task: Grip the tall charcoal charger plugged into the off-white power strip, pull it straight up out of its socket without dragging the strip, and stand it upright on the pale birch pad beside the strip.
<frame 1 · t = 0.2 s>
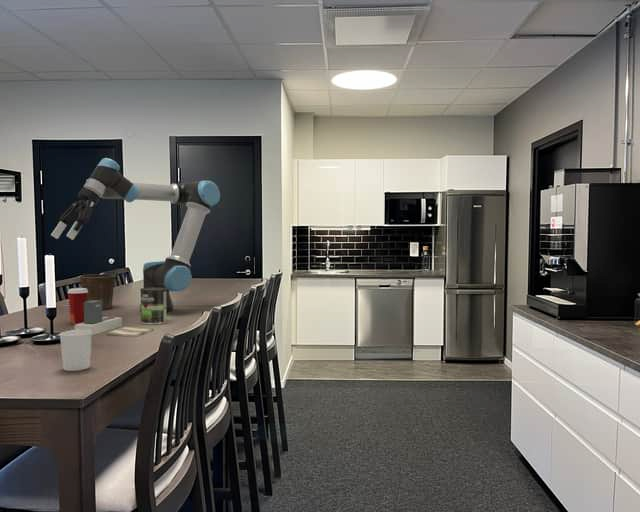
hand: (61, 237, 195), 35 cm above the table, tool tilted 35°, fingers open, 13 cm apart
coffee can: (154, 322, 212), on the table
birch pad: (130, 332, 191), on the table
charger: (93, 327, 191), point 2 cm above the table, touching power strip
white cup: (76, 368, 143), on the table
paper cup: (78, 323, 210), on the table
plant pot: (98, 309, 246), on the table
power strip: (99, 331, 195), on the table, touching charger
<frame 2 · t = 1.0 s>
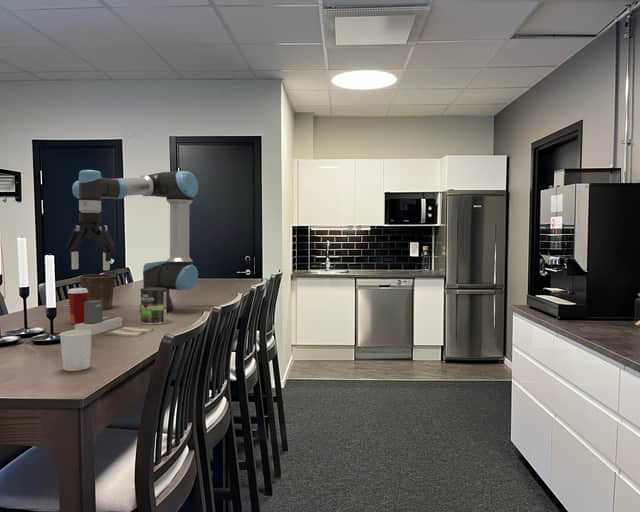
hand: (90, 269, 190), 23 cm above the table, tool pointing down, fingers open, 13 cm apart
nothing on the table moved.
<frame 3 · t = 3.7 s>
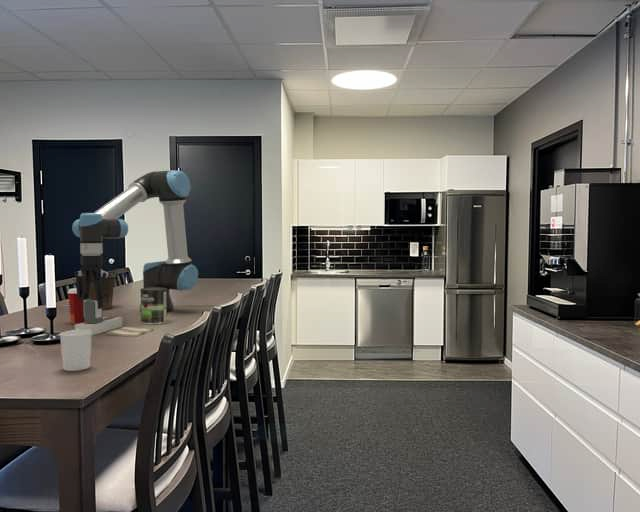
hand: (92, 317, 191), 6 cm above the table, tool pointing down, fingers closed on charger, 4 cm apart
charger: (93, 327, 192), point 2 cm above the table, touching gripper
power strip: (99, 331, 195), on the table
everything else where it was.
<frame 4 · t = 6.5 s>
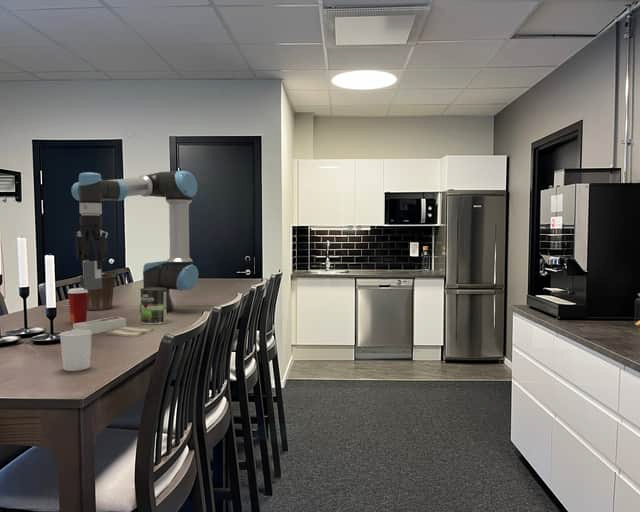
hand: (92, 277, 190), 20 cm above the table, tool pointing down, fingers closed on charger, 4 cm apart
charger: (93, 288, 191), point 16 cm above the table, touching gripper
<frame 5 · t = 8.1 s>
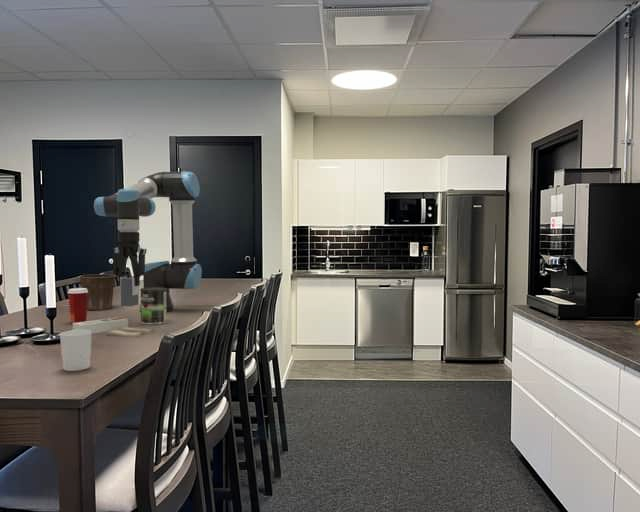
hand: (129, 294, 189), 14 cm above the table, tool pointing down, fingers closed on charger, 4 cm apart
charger: (129, 305, 190), point 10 cm above the table, touching gripper
when the fingers open (6 cm above the table, at t = 9.4 s): charger drops 1 cm, resting on birch pad.
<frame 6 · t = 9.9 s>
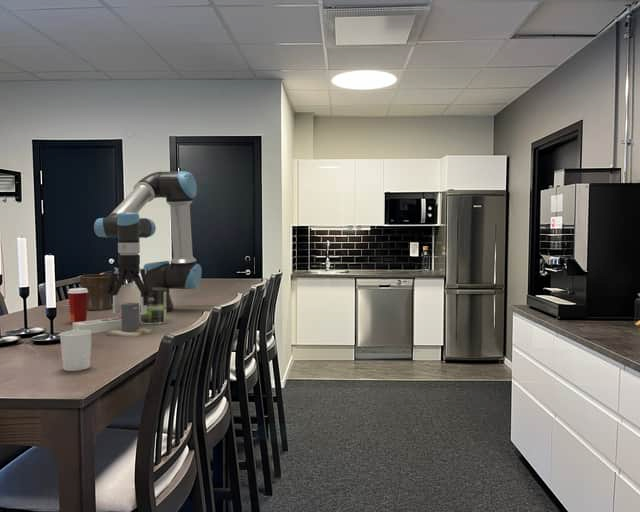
hand: (129, 313, 190), 7 cm above the table, tool pointing down, fingers open, 11 cm apart
charger: (130, 330, 191), point 1 cm above the table, touching birch pad
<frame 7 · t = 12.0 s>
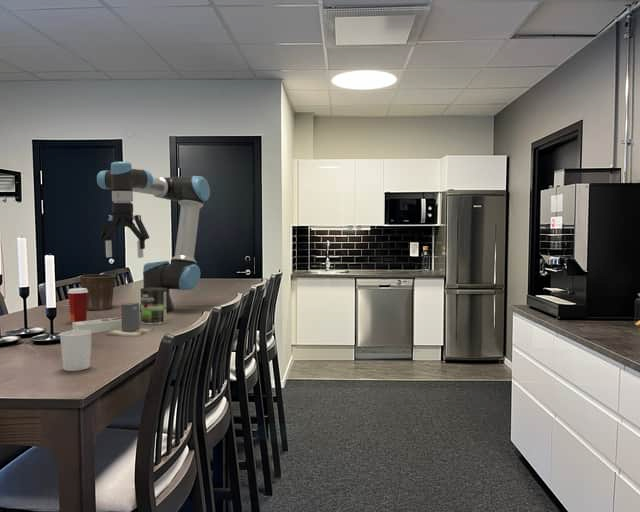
hand: (124, 257, 199), 27 cm above the table, tool pointing down, fingers open, 13 cm apart
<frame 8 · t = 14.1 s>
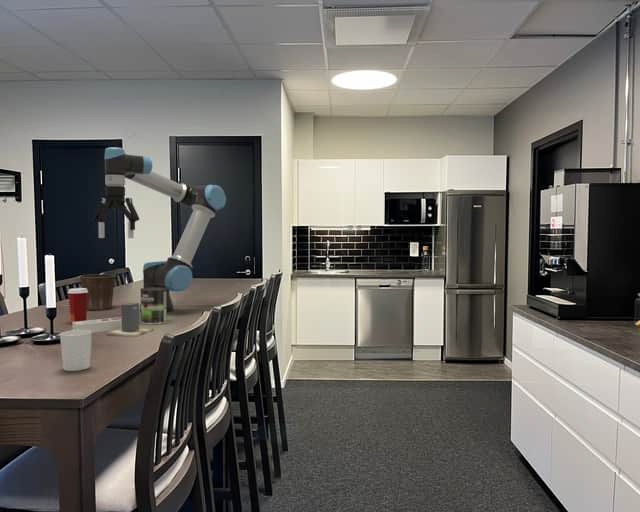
hand: (116, 238, 210), 35 cm above the table, tool pointing down, fingers open, 13 cm apart
at the end: charger inside the target area on the birch pad (0.2 cm from its centre), point 0.8 cm above the birch pad's base; charger tilted 0°; power strip moved 0.6 cm from its start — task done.
